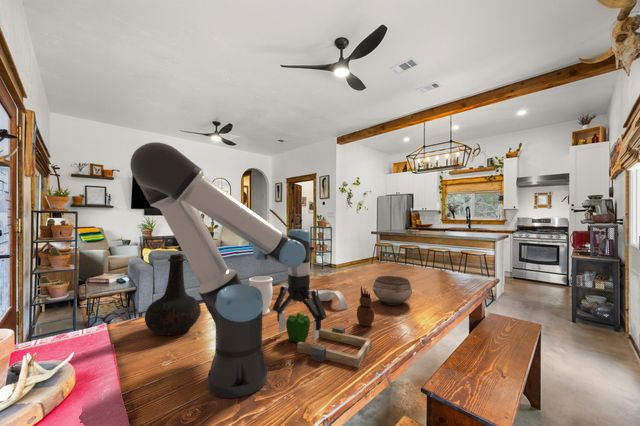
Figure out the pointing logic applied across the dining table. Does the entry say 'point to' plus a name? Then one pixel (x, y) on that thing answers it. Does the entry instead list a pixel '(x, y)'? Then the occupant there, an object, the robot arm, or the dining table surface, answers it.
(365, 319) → the wooden figurine
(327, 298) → the spoon rest
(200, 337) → the dining table surface
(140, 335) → the dining table surface
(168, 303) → the glass bottle
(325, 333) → the tan wooden u-shaped frame
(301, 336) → the bell pepper
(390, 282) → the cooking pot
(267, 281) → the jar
